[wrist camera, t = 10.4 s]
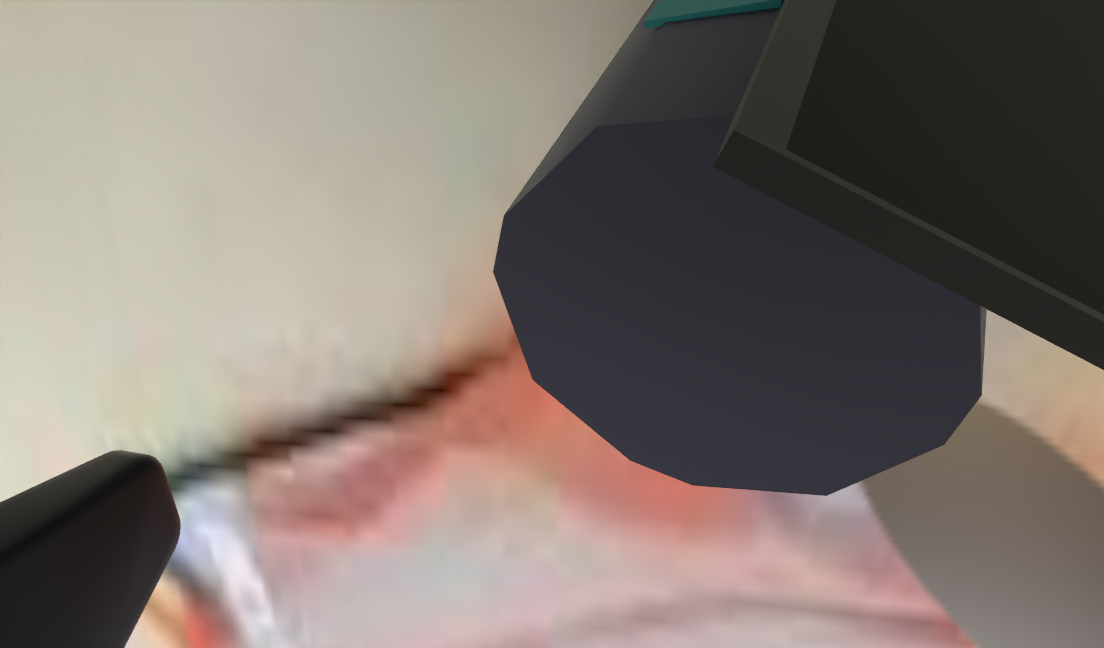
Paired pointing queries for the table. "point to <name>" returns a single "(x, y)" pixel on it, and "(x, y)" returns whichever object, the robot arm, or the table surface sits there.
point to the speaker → (811, 229)
